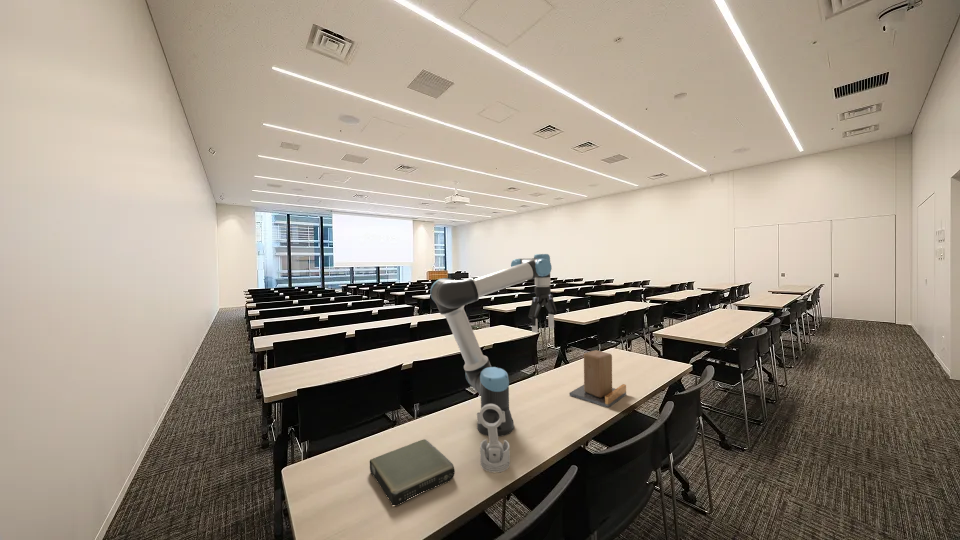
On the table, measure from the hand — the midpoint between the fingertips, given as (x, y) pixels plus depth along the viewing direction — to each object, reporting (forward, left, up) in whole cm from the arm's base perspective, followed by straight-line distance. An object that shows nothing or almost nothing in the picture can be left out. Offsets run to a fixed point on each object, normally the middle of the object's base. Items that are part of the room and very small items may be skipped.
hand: (543, 329), depth 162 cm
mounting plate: (+16, +23, -35) cm, 45 cm away
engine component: (+16, -53, -35) cm, 65 cm away
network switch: (+1, -76, -35) cm, 84 cm away
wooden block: (+16, +22, -33) cm, 43 cm away
